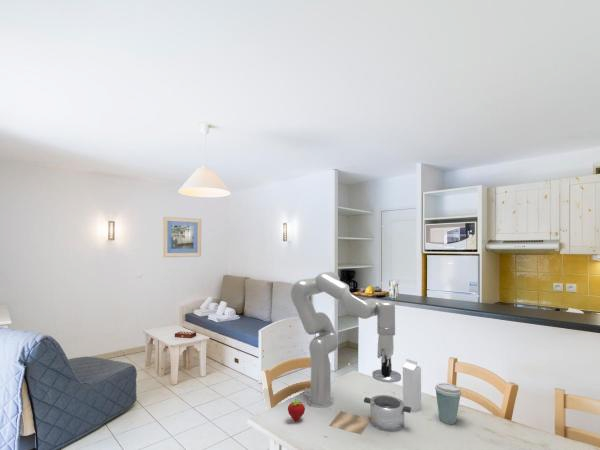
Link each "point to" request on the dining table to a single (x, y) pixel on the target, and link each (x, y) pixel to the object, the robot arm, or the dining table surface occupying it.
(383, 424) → the pot
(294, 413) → the strawberry
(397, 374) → the lid
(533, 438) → the dining table surface
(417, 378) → the milk
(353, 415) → the trivet
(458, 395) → the disposable coffee cup
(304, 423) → the dining table surface
